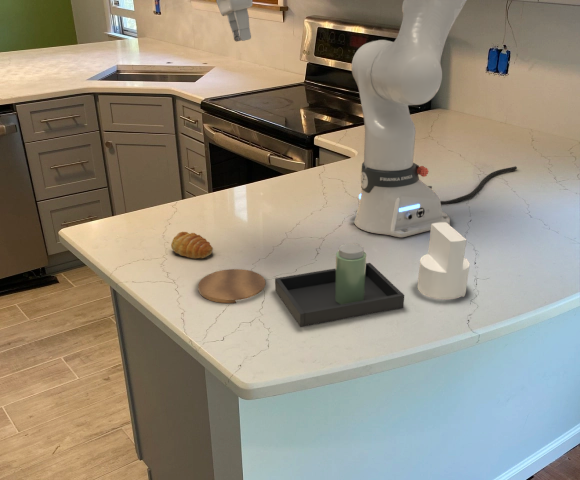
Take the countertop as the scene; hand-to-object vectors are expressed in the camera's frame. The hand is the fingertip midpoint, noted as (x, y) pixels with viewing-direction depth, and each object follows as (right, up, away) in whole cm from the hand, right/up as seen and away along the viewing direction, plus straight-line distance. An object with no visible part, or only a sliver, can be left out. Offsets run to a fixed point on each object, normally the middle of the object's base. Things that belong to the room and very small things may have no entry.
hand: (242, 40), depth 112 cm
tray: (+17, -46, +4) cm, 50 cm away
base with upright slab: (+37, -44, +7) cm, 58 cm away
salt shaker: (+19, -46, +4) cm, 50 cm away
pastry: (-13, -35, +25) cm, 44 cm away
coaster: (-3, -43, +10) cm, 44 cm away
